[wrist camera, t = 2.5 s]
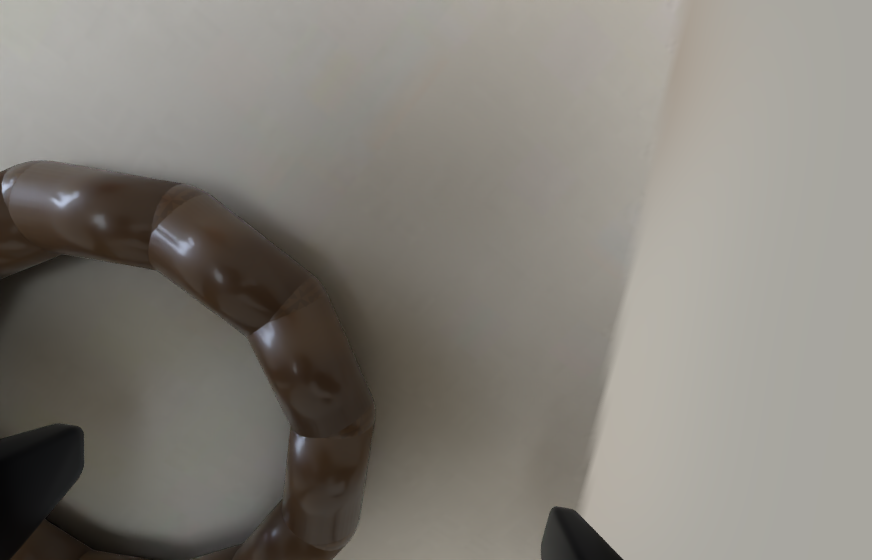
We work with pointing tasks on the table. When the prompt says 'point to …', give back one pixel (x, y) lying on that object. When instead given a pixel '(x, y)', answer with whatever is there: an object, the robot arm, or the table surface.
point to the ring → (237, 305)
